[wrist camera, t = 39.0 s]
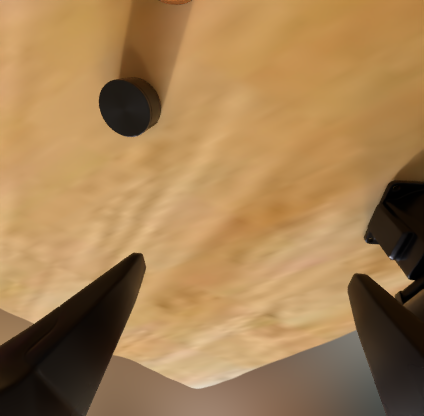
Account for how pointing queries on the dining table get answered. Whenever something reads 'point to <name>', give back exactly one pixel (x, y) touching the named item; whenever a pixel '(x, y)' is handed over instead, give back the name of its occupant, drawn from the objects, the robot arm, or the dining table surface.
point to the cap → (129, 106)
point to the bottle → (175, 1)
